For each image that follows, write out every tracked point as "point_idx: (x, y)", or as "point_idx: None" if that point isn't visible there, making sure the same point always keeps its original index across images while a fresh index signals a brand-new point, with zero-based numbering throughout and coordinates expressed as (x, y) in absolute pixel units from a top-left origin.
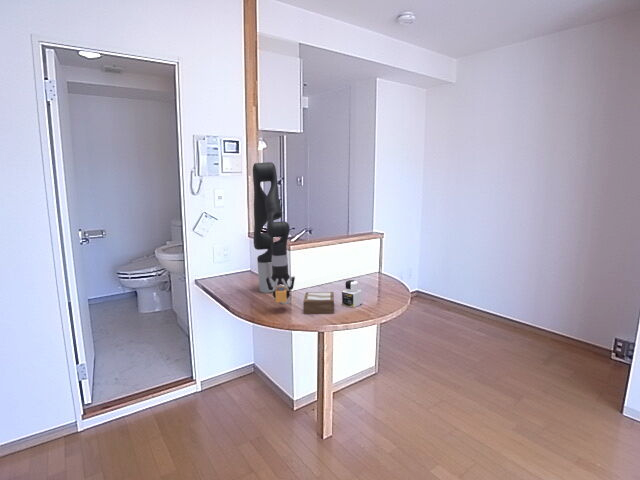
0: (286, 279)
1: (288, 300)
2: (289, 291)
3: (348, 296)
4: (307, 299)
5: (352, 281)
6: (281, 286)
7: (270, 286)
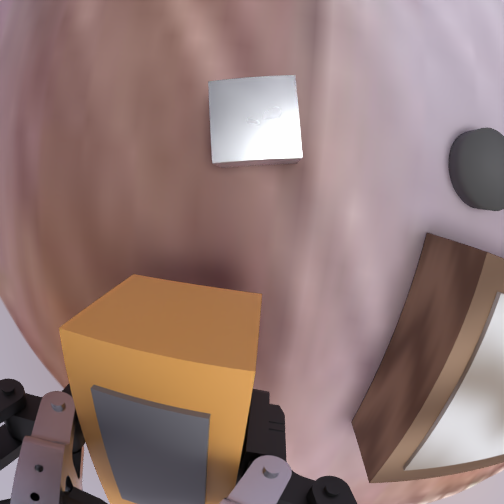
0: None
1: (286, 161)
2: (281, 456)
3: None
4: (413, 462)
5: None
6: (147, 372)
7: (14, 457)
